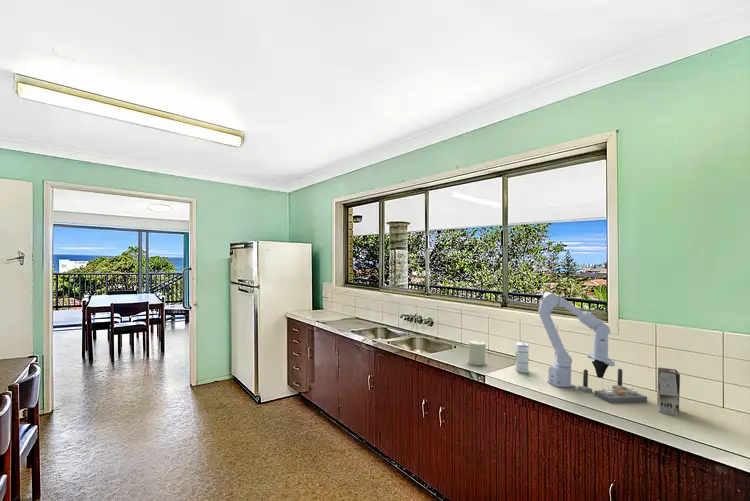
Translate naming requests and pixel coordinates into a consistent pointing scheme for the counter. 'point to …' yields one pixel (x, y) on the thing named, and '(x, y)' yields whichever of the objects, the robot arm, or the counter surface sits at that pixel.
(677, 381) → the coffee box
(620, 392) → the middle paddle
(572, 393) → the counter surface
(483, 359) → the can
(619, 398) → the switch panel
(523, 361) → the syrup box
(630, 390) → the right paddle
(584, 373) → the grey peg stand
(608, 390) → the left paddle
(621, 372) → the grey post with base
